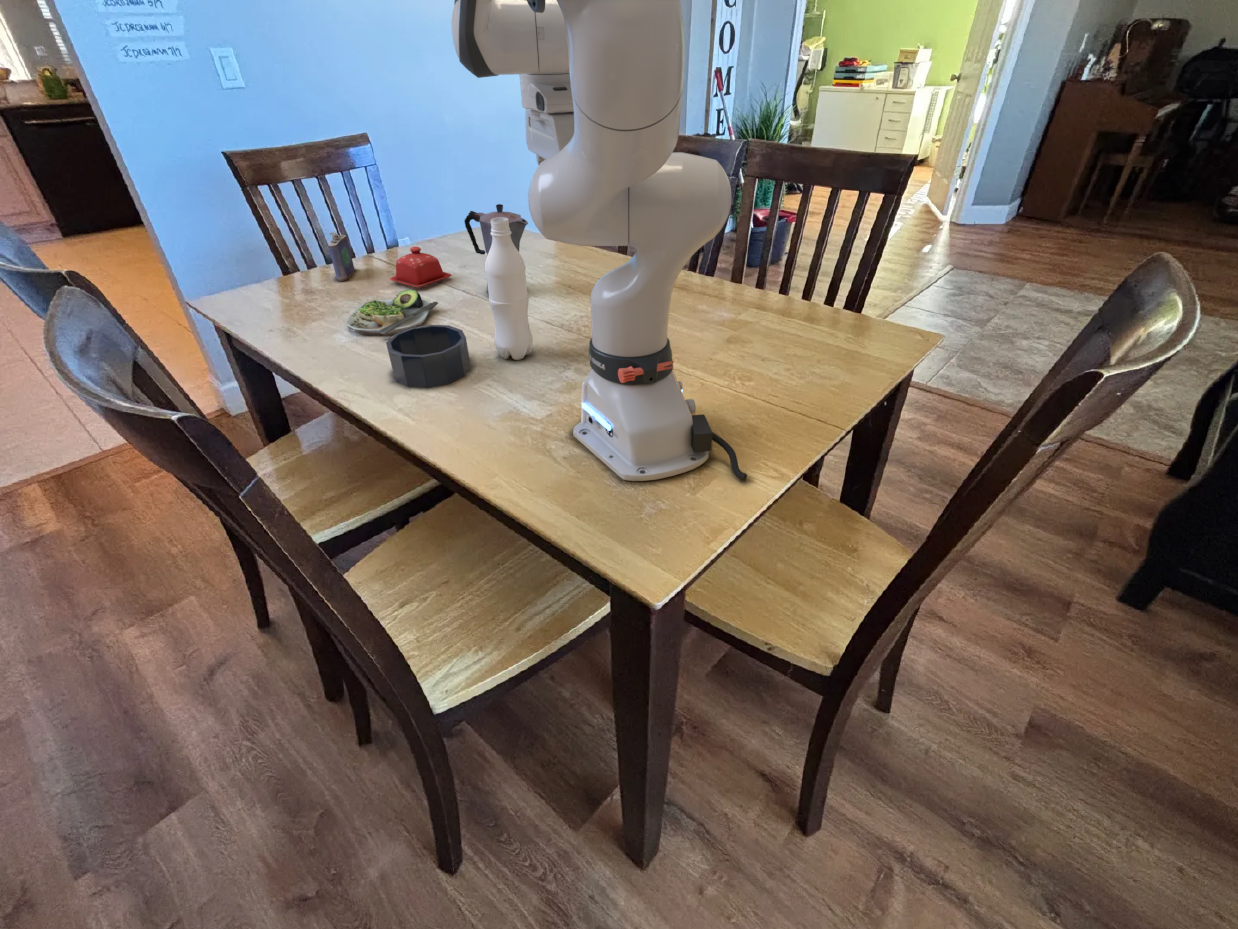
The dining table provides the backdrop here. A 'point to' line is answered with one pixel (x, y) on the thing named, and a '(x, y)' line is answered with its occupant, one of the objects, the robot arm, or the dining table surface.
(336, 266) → the flask
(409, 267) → the butter dish
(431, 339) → the dark grey faceted ring
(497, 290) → the water bottle
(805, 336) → the dining table surface
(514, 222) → the moka pot
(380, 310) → the avocado toast plate
